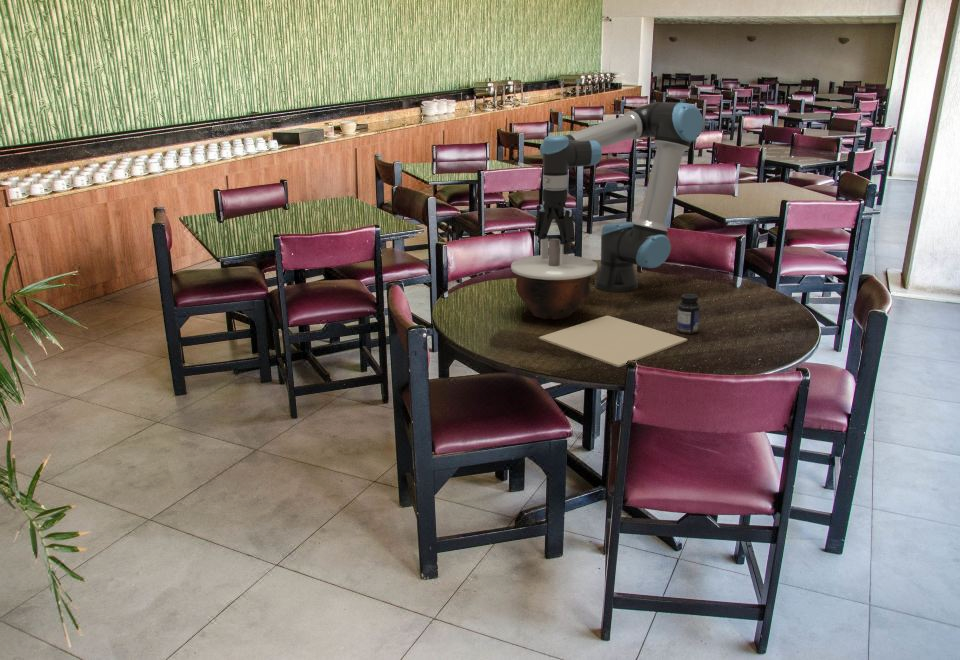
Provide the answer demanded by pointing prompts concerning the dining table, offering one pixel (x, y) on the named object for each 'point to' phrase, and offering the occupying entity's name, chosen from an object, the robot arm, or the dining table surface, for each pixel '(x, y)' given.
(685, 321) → the pill bottle
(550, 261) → the lid
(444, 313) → the dining table surface
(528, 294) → the bowl
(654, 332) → the mat
